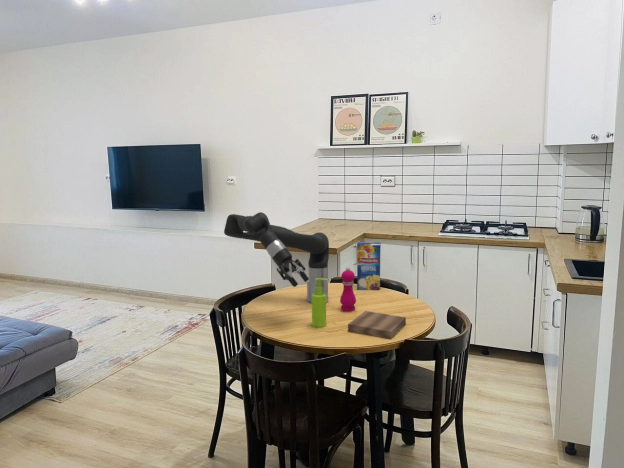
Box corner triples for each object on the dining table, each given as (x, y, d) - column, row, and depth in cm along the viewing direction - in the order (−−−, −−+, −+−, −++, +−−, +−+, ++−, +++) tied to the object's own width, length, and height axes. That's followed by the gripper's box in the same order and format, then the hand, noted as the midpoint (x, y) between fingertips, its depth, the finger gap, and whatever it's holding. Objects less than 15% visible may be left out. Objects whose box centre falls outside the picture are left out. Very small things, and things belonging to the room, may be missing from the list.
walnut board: (347, 331, 187) (347, 324, 186) (365, 317, 202) (365, 310, 202) (390, 339, 178) (391, 331, 178) (405, 324, 194) (405, 317, 193)
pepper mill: (358, 308, 214) (358, 266, 211) (352, 313, 208) (352, 269, 205) (343, 306, 217) (343, 264, 214) (337, 311, 211) (337, 268, 208)
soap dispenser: (327, 328, 190) (327, 280, 187) (310, 327, 192) (310, 279, 188) (329, 323, 196) (329, 276, 193) (313, 322, 197) (313, 276, 194)
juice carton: (356, 289, 244) (357, 244, 240) (357, 285, 251) (357, 242, 247) (380, 290, 243) (380, 245, 239) (379, 286, 250) (380, 242, 246)
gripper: (283, 254, 205) (305, 284, 201) (263, 261, 193) (286, 292, 189) (293, 244, 201) (316, 274, 197) (274, 250, 189) (297, 282, 185)
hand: (301, 283), depth 193 cm, fingers open, 8 cm apart
